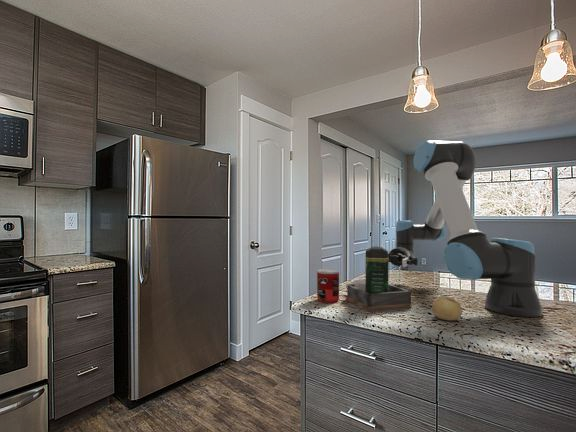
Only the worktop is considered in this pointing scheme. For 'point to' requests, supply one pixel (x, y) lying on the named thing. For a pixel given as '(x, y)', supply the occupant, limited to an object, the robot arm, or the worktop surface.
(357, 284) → the teacup
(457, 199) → the robot arm
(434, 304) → the onion
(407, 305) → the tray
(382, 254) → the coffee jar
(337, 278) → the canned food
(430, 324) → the worktop surface
